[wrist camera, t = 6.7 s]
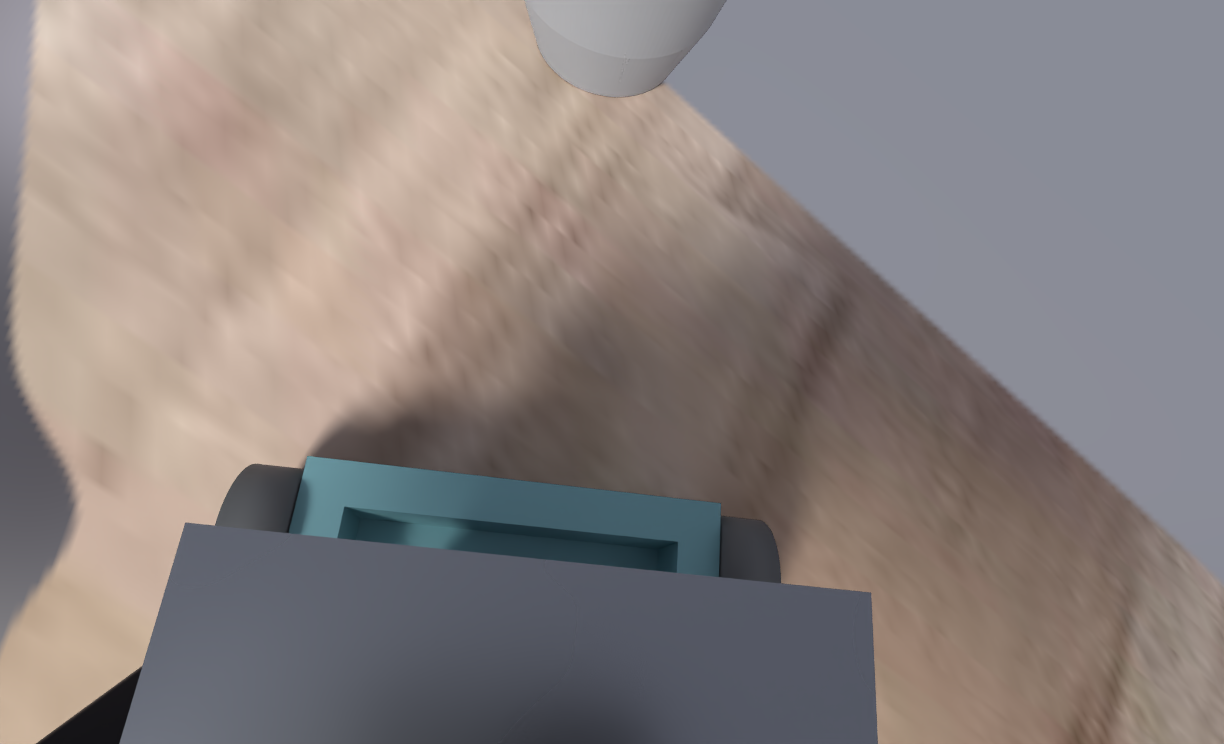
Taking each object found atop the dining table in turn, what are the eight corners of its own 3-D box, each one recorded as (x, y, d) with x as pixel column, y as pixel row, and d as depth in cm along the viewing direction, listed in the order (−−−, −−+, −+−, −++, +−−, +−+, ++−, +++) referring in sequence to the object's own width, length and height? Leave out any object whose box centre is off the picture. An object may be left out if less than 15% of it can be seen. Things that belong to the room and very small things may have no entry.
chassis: (726, 943, 15) (782, 1022, 12) (164, 928, 14) (76, 1013, 11) (734, 522, 19) (780, 505, 16) (281, 472, 17) (238, 442, 14)
